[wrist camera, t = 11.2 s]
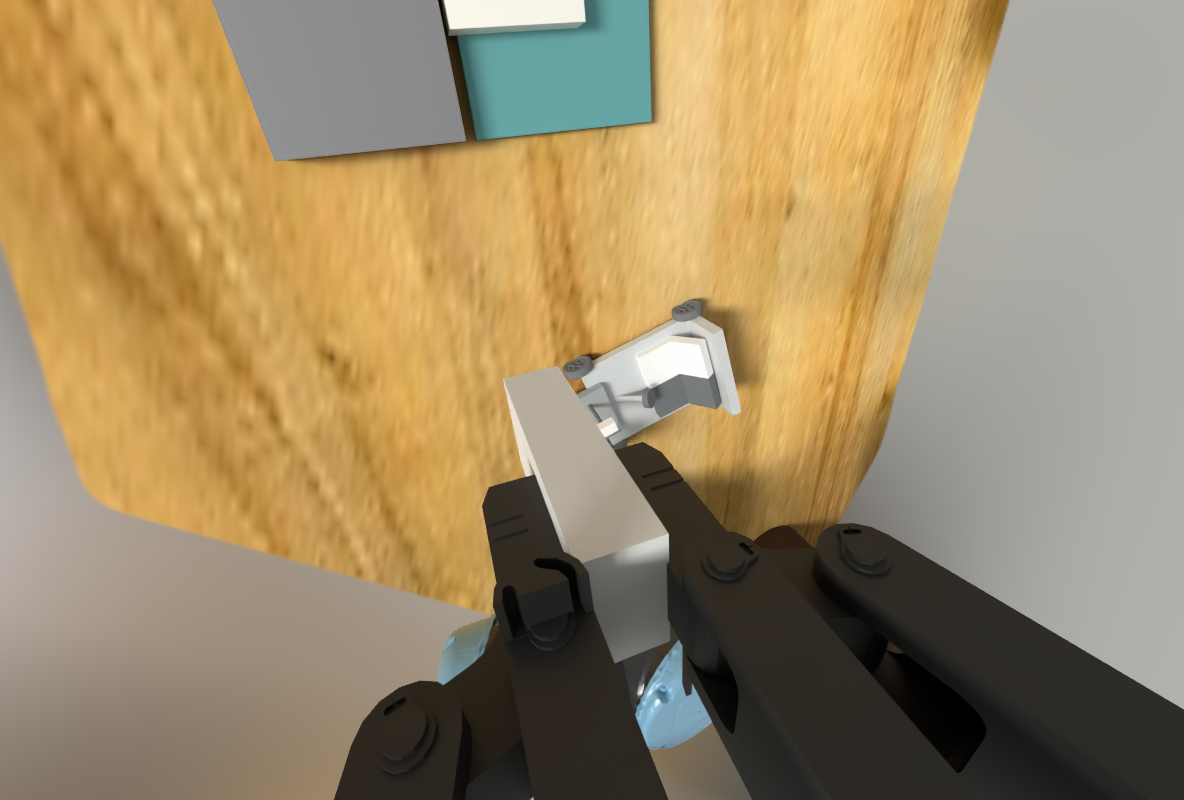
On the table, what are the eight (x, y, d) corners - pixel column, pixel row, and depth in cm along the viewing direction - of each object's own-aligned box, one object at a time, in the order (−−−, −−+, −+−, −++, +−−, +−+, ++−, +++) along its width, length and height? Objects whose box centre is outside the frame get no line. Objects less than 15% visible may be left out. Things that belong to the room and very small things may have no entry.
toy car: (608, 515, 44) (561, 426, 37) (577, 457, 52) (535, 376, 46) (768, 426, 45) (749, 326, 39) (714, 384, 53) (691, 296, 47)
